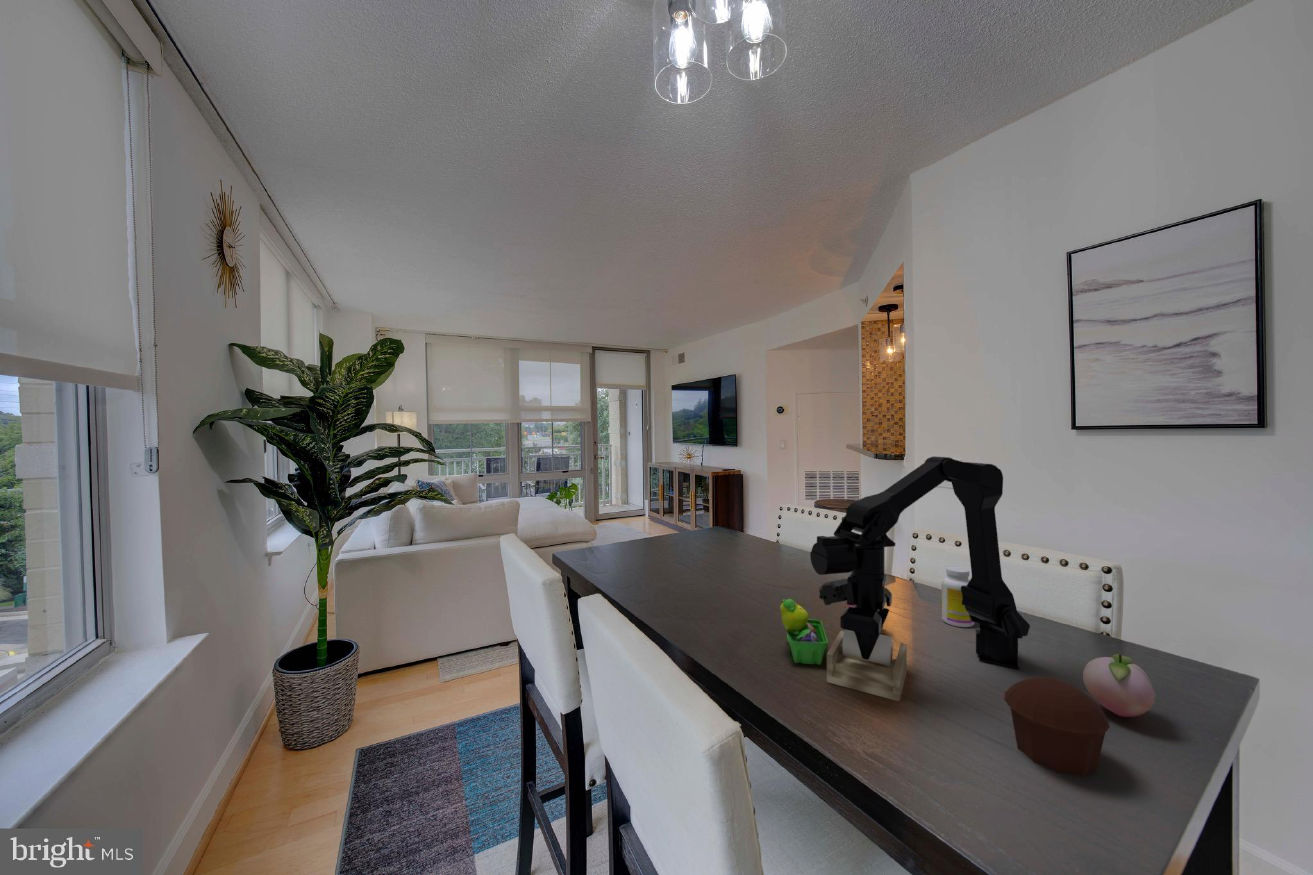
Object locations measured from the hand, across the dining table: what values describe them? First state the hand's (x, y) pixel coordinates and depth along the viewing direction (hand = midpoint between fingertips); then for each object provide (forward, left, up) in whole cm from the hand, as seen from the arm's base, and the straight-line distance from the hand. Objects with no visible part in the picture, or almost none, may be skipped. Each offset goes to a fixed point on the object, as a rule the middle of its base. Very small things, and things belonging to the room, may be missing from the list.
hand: (867, 653), depth 90 cm
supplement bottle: (-14, -38, -5) cm, 41 cm away
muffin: (-26, +9, -5) cm, 28 cm away
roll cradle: (0, 0, -4) cm, 4 cm away
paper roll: (0, 0, -1) cm, 1 cm away
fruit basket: (+13, -3, -5) cm, 14 cm away
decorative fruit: (-36, -8, -5) cm, 37 cm away
